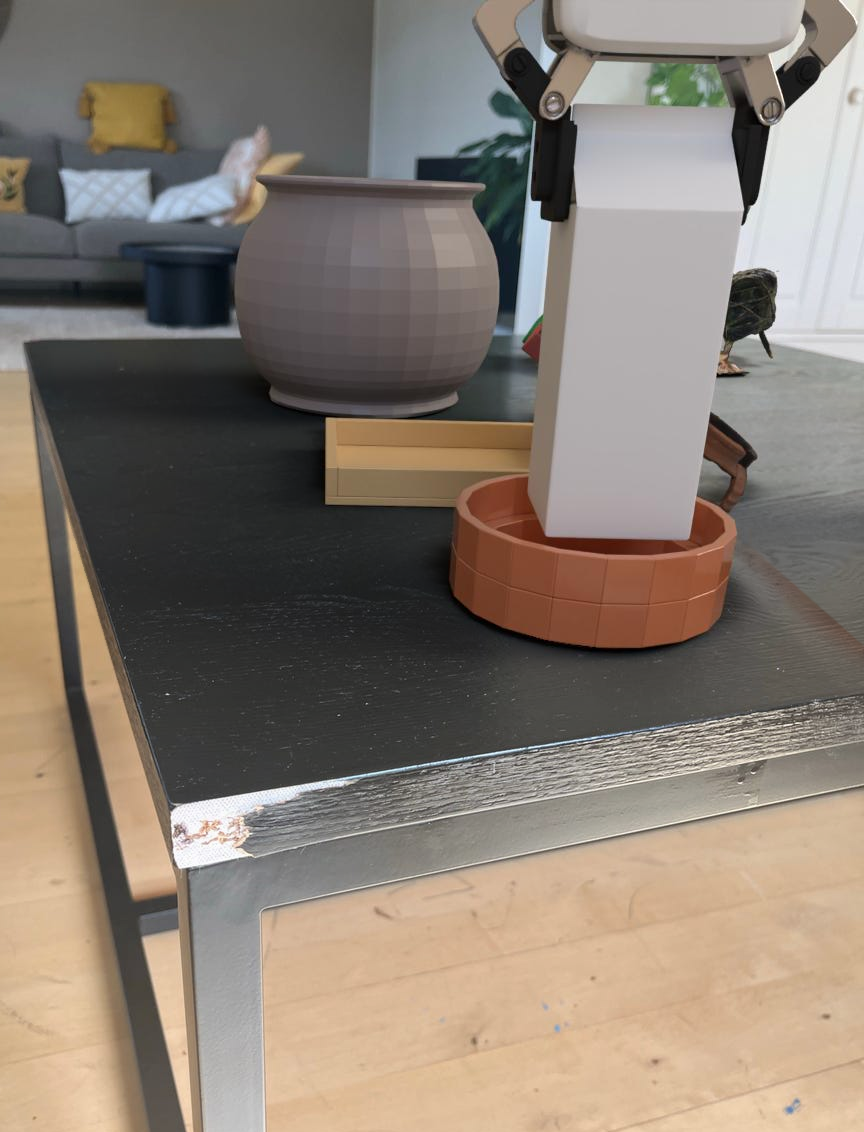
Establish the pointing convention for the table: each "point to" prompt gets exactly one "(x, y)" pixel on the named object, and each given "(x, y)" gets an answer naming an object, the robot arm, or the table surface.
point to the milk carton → (634, 321)
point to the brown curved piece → (728, 457)
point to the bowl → (585, 573)
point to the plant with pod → (748, 312)
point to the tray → (418, 459)
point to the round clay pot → (366, 293)
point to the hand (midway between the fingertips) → (640, 219)
